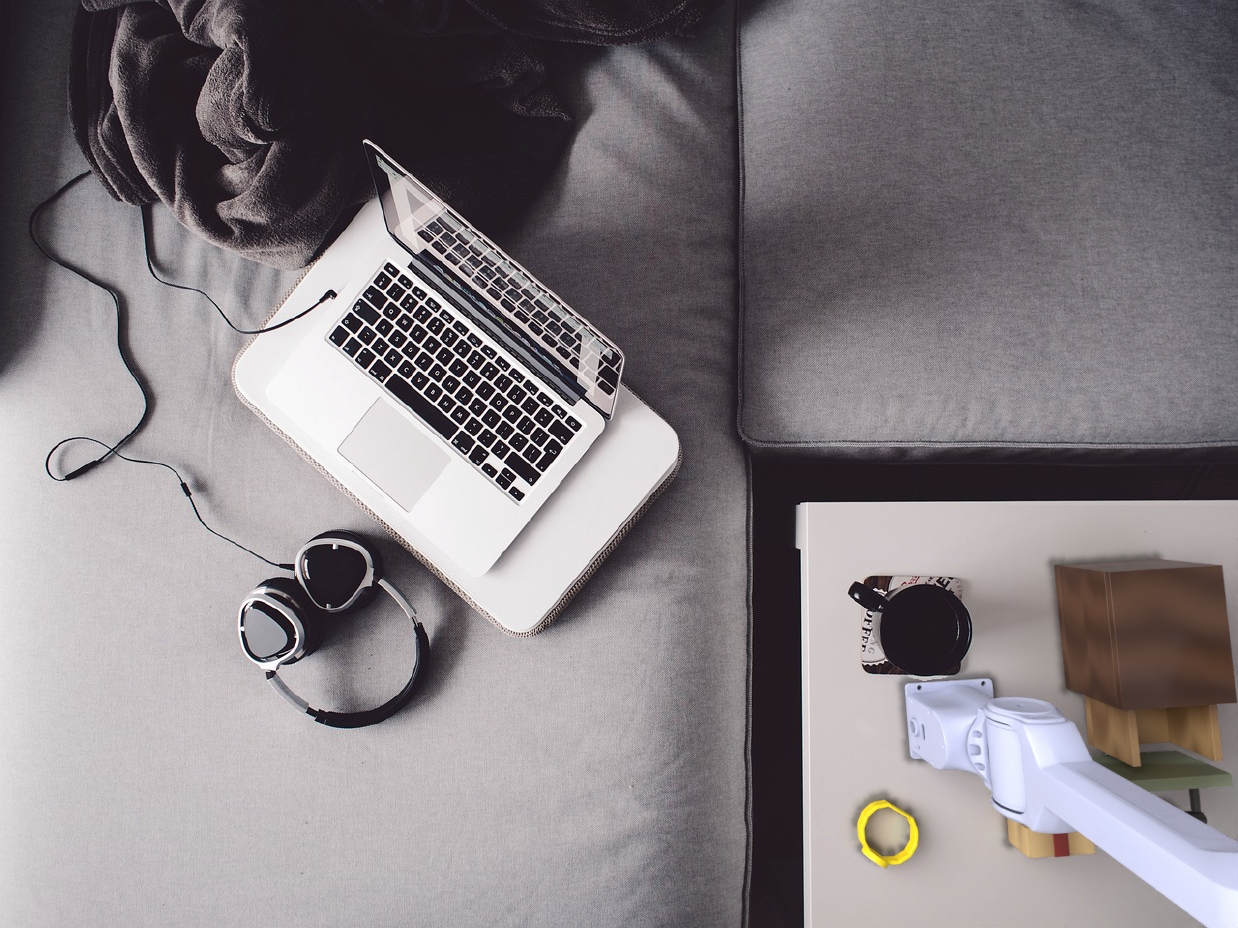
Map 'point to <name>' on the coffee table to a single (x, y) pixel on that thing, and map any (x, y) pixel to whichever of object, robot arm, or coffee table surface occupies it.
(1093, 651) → the cabinet
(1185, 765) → the pullout
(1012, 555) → the coffee table surface
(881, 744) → the coffee table surface
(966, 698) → the robot arm
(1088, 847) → the tan red striped block
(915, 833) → the yellow rubber band ring
